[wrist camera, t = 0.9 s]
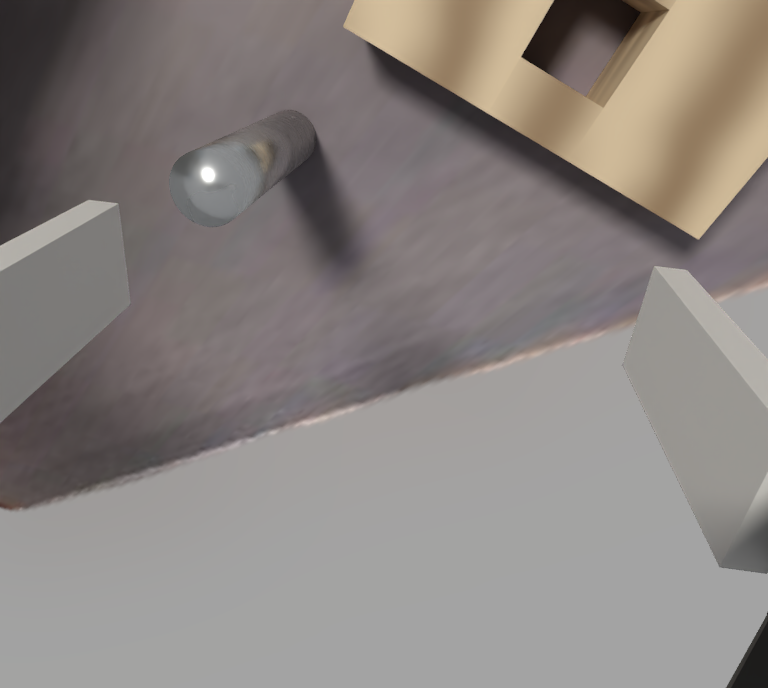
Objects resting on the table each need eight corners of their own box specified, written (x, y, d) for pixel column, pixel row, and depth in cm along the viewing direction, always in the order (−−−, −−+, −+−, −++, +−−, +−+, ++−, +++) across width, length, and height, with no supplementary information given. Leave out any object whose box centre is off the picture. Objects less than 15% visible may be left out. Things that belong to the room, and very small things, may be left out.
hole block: (360, 26, 33) (342, 26, 28) (458, -192, 28) (456, -233, 24) (669, 212, 35) (698, 239, 31) (806, 40, 30) (863, 42, 26)
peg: (257, 147, 36) (159, 203, 25) (277, 99, 35) (183, 135, 23) (303, 173, 37) (227, 240, 25) (324, 126, 35) (254, 175, 24)
